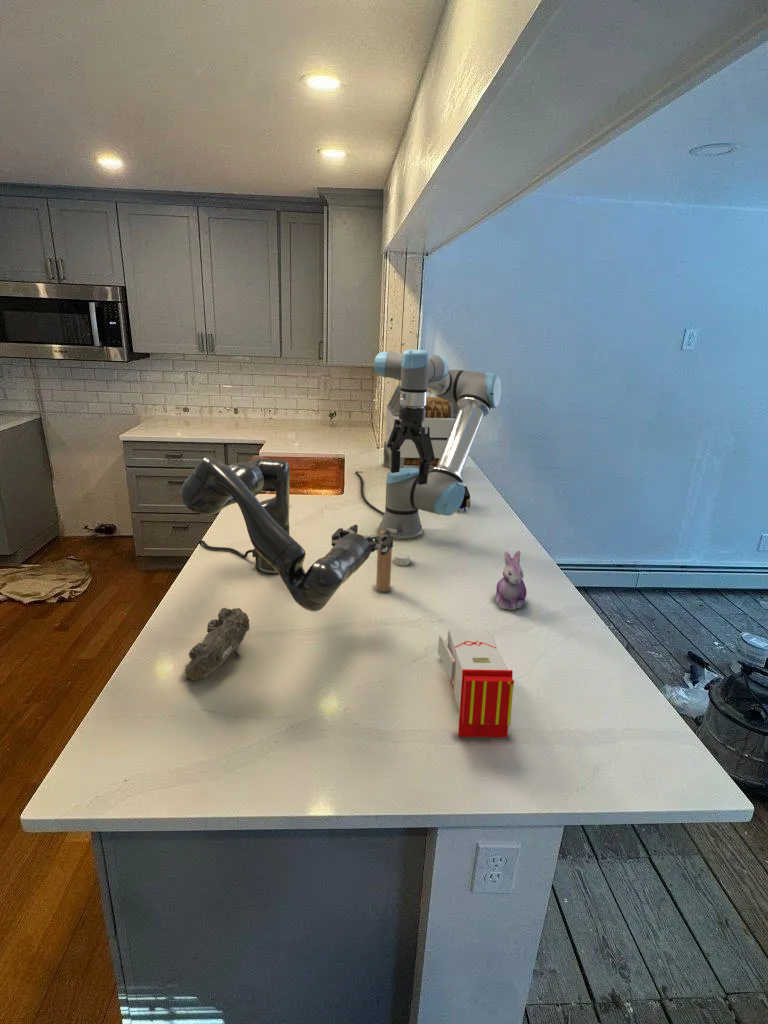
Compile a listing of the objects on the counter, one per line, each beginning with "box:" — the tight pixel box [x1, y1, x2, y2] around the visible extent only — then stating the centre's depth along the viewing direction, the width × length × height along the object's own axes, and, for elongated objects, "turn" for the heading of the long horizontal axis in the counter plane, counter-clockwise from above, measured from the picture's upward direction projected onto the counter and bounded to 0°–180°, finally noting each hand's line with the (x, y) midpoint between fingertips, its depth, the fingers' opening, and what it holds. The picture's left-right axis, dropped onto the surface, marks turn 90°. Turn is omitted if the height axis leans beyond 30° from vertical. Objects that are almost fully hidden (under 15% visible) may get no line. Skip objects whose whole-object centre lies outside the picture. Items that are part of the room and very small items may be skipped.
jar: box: [375, 530, 393, 593], centre depth 158 cm, size 4×4×17 cm
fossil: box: [184, 607, 250, 681], centre depth 125 cm, size 22×10×15 cm
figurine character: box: [456, 485, 472, 513], centre depth 228 cm, size 7×8×15 cm
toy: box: [437, 628, 515, 738], centre depth 117 cm, size 12×13×30 cm
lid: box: [394, 552, 411, 566], centre depth 177 cm, size 5×5×2 cm
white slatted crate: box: [383, 384, 459, 472], centre depth 268 cm, size 34×33×41 cm
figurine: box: [495, 550, 527, 611], centre depth 153 cm, size 9×10×15 cm
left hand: (372, 530), depth 143 cm, fingers open, 8 cm apart
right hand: (408, 478), depth 169 cm, fingers open, 13 cm apart
